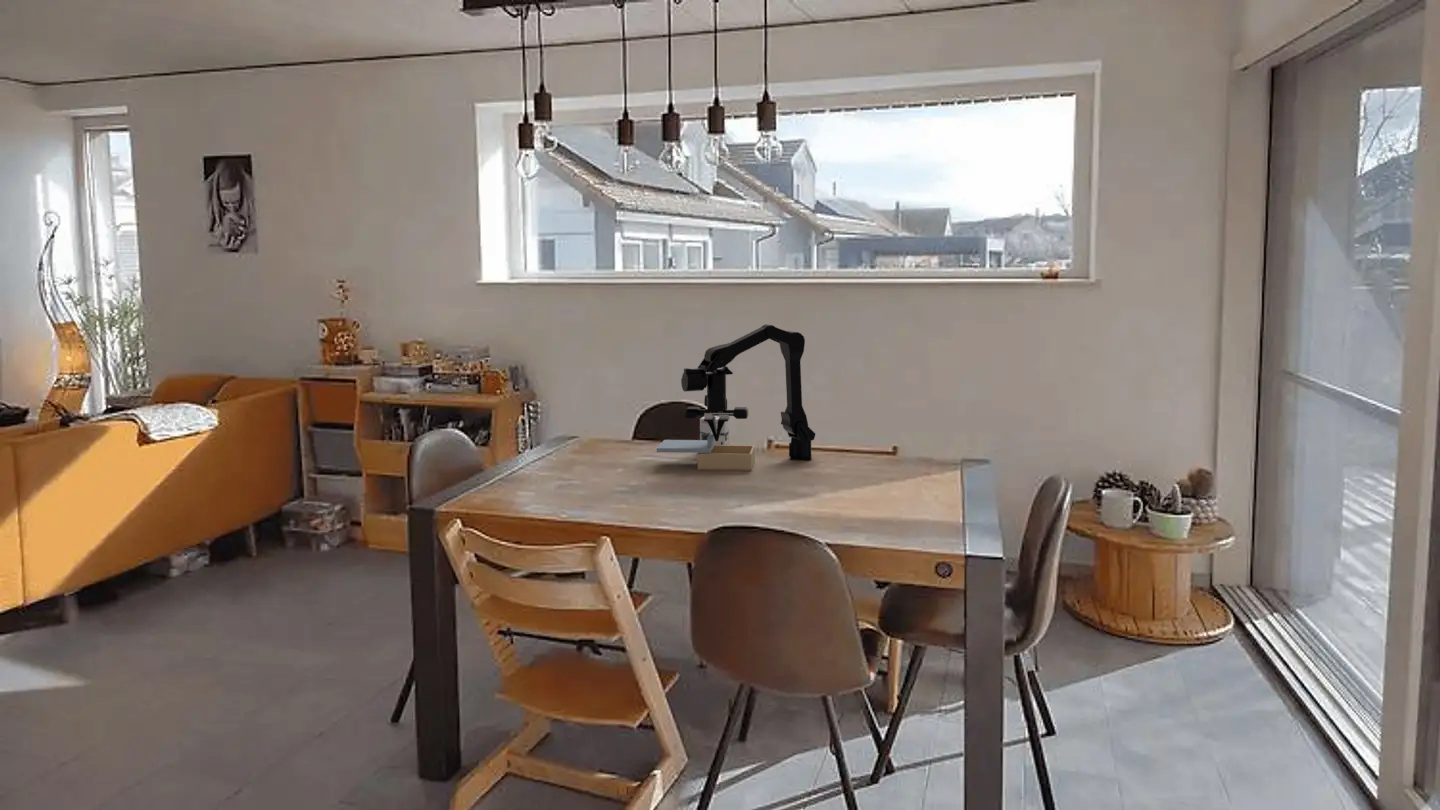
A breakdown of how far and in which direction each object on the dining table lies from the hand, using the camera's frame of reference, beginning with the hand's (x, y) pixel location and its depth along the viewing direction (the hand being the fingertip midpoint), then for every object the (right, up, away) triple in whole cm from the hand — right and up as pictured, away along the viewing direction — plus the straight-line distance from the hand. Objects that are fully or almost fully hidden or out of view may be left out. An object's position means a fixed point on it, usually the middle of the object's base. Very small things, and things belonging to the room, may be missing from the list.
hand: (716, 441), depth 316 cm
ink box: (-1, -5, +20) cm, 21 cm away
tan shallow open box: (+3, -8, +1) cm, 8 cm away
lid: (-9, -2, +1) cm, 10 cm away
